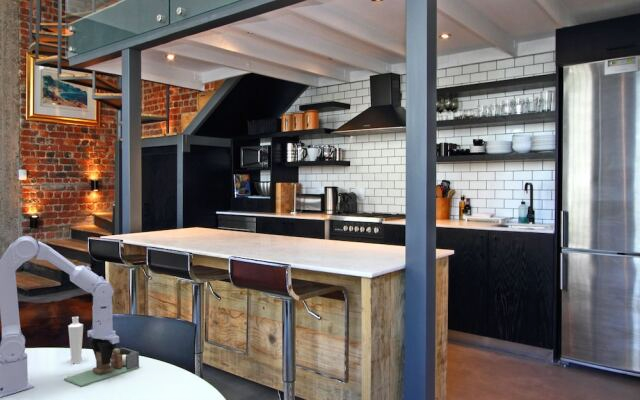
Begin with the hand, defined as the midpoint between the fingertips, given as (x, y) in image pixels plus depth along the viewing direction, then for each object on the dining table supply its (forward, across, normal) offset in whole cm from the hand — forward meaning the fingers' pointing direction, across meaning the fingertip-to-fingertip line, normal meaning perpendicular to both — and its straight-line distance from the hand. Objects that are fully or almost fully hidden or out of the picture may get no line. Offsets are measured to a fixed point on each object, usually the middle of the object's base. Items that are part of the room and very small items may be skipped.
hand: (103, 362), depth 159 cm
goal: (+3, 0, -7) cm, 8 cm away
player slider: (+3, 0, -2) cm, 3 cm away
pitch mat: (+3, 0, 0) cm, 3 cm away
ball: (+1, 0, -7) cm, 7 cm away
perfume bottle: (+4, +18, -1) cm, 18 cm away
